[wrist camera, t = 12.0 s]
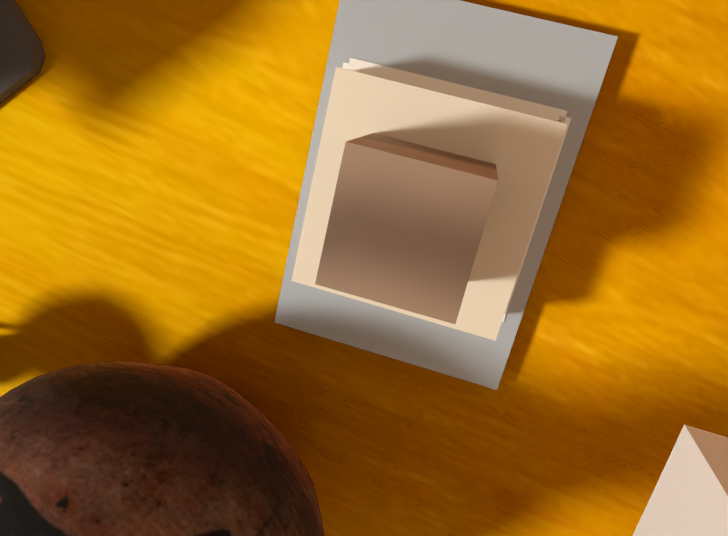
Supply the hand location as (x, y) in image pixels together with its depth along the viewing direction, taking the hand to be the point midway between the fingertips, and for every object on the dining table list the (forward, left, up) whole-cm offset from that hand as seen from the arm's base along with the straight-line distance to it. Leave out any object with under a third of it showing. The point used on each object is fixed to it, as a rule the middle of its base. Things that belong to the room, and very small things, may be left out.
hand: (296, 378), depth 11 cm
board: (0, 0, -25) cm, 25 cm away
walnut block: (0, 0, -20) cm, 20 cm away
